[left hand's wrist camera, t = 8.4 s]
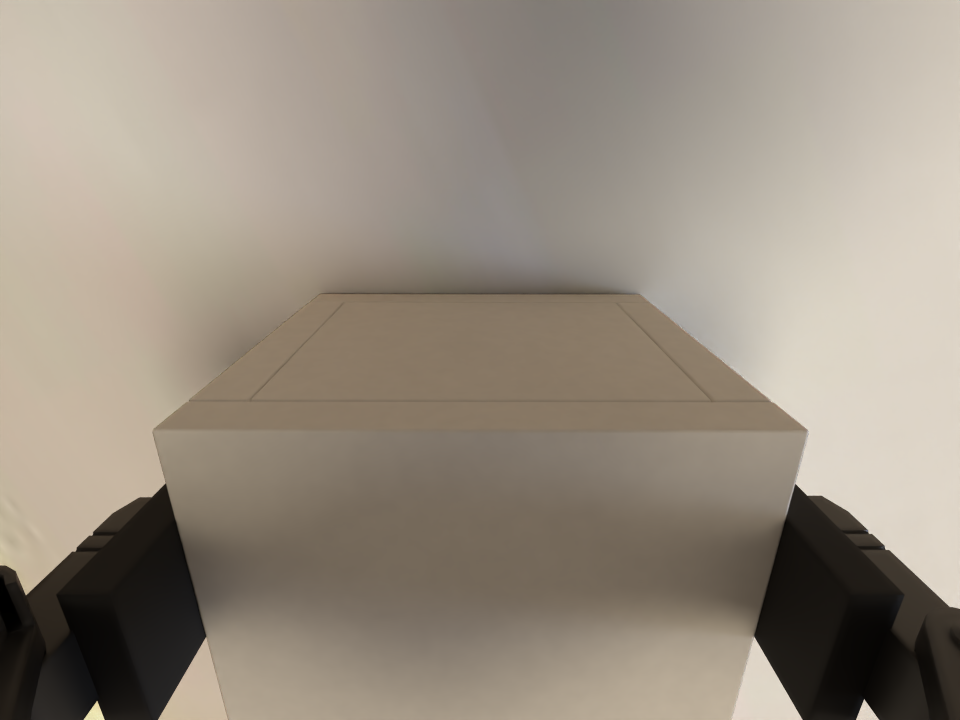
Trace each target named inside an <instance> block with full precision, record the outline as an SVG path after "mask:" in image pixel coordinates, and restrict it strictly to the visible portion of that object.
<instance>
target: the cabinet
mask: <svg viewBox="0 0 960 720" xmlns="http://www.w3.org/2000/svg"><path fill="white" fill-rule="evenodd" d="M808 434H809V433H808V430H807V429H806V428H805V427H803V426H802V425H801V424H800V423H798V422H797V421H796V420H795V419H794V418H792V417H791V416H790V415H789V414H787V413H786V412H785V411H784V410H782V409H781V408H780V407H779V406H778V405H776V404H775V403H773V402H771V401H770V399H768V398H767V397H766V396H765V395H763V394H762V393H761V392H760V391H758V390H757V389H756V388H755V387H754V386H752V385H751V384H750V383H749V382H747V381H746V380H745V379H744V378H742V377H741V376H740V375H739V374H738V373H736V372H735V371H734V370H733V369H731V368H730V367H729V366H728V365H726V364H725V363H724V362H723V361H722V360H720V359H719V358H718V357H717V356H715V355H714V354H713V353H712V352H710V351H709V350H708V349H707V348H706V347H704V346H703V345H702V344H701V343H699V342H698V341H697V340H696V339H694V338H693V337H692V336H691V335H690V334H688V333H687V332H686V331H685V330H683V329H682V328H681V327H680V326H678V325H677V324H676V323H675V322H674V321H672V320H671V319H670V318H669V317H667V316H666V315H665V314H664V313H662V312H661V311H660V310H659V309H657V308H656V307H655V306H654V305H653V304H651V303H650V302H649V301H648V300H646V299H645V298H644V297H643V296H641V295H639V294H320V295H318V296H317V297H316V298H314V299H313V300H312V301H311V302H309V303H308V304H306V305H305V306H304V307H303V308H302V309H300V310H299V311H298V312H297V313H295V314H294V315H293V316H292V317H290V318H289V319H288V320H287V321H286V322H284V323H283V324H282V325H281V326H279V327H278V328H277V329H276V330H274V331H273V332H272V333H271V334H270V335H268V336H267V337H266V338H265V339H263V340H262V341H261V342H260V343H258V344H257V345H256V346H255V347H254V348H252V349H251V350H250V351H249V352H247V353H246V354H245V355H244V356H242V357H241V358H240V359H239V360H238V361H236V362H235V363H234V364H233V365H231V366H230V367H229V368H228V369H226V370H225V371H224V372H223V373H222V374H220V375H219V376H218V377H217V378H215V379H214V380H213V381H212V382H210V383H209V384H208V385H207V386H206V387H204V388H203V389H202V390H201V391H199V392H198V393H197V394H196V395H194V396H193V397H192V398H191V399H190V400H189V402H186V403H185V404H184V405H183V406H181V407H180V408H179V409H178V410H176V411H175V412H174V413H173V414H171V415H170V416H169V417H168V418H167V419H165V420H164V421H163V422H162V423H160V424H159V425H158V426H157V427H156V428H154V429H153V436H154V440H155V444H156V447H157V451H158V455H159V459H160V463H161V466H162V470H163V474H164V478H165V482H166V485H167V489H168V493H169V497H170V501H171V504H172V508H173V512H174V516H175V520H176V523H177V527H178V531H179V535H180V539H181V542H182V546H183V550H184V554H185V558H186V561H187V565H188V569H189V573H190V577H191V580H192V584H193V588H194V592H195V596H196V599H197V603H198V607H199V611H200V615H201V618H202V622H203V626H204V630H205V634H206V637H207V641H208V645H209V649H210V653H211V656H212V660H213V664H214V668H215V672H216V675H217V679H218V683H219V687H220V691H221V694H222V698H223V702H224V706H225V710H226V713H227V717H228V720H732V716H733V713H734V709H735V705H736V702H737V698H738V694H739V690H740V687H741V683H742V679H743V676H744V672H745V668H746V664H747V661H748V657H749V653H750V650H751V646H752V642H753V638H754V635H755V631H756V627H757V624H758V620H759V616H760V612H761V609H762V605H763V601H764V598H765V594H766V590H767V586H768V583H769V579H770V575H771V571H772V568H773V564H774V560H775V557H776V553H777V549H778V545H779V542H780V538H781V534H782V531H783V527H784V523H785V519H786V516H787V512H788V508H789V505H790V501H791V497H792V493H793V490H794V486H795V482H796V479H797V475H798V471H799V467H800V464H801V460H802V456H803V453H804V449H805V445H806V441H807V438H808Z"/></svg>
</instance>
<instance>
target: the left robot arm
mask: <svg viewBox="0 0 960 720" xmlns="http://www.w3.org/2000/svg"><path fill="white" fill-rule="evenodd" d="M754 637H755V639H756V640H757V642H758V644H759V645H760V647H761V649H762V651H763V652H764V654H765V656H766V657H767V659H768V661H769V663H770V664H771V666H772V668H773V669H774V671H775V673H776V675H777V676H778V678H779V680H780V682H781V683H782V685H783V687H784V688H785V690H786V692H787V694H788V695H789V697H790V699H791V700H792V702H793V704H794V706H795V707H796V709H797V711H798V712H799V714H800V716H801V718H802V719H803V720H856V718H857V716H858V713H859V711H860V708H861V705H862V703H863V700H864V699H865V701H866V702H867V703H868V705H869V706H870V708H871V709H872V710H873V712H874V713H875V715H876V716H877V717H878V719H879V720H960V609H958V608H953V607H949V606H948V605H947V604H946V603H945V602H944V601H943V600H942V599H941V598H939V597H938V596H937V595H936V594H935V593H934V592H933V591H932V590H931V589H930V588H929V587H928V586H927V585H926V584H925V583H924V582H922V581H921V580H920V579H919V578H918V577H917V576H916V575H915V574H914V573H913V572H912V571H911V570H910V569H909V568H908V567H906V566H905V565H904V564H903V563H902V562H901V561H900V560H899V559H898V558H897V557H896V556H895V555H894V554H893V553H892V552H891V551H889V550H885V546H884V545H883V544H882V543H881V542H880V541H879V540H878V539H877V538H876V537H875V536H874V535H872V534H869V533H868V530H867V529H866V528H865V527H864V526H863V525H862V524H861V523H860V522H859V521H858V520H857V519H855V518H854V517H853V516H852V515H851V514H850V513H849V512H848V511H846V510H845V509H843V508H841V507H839V506H838V505H836V504H834V503H833V502H831V501H829V500H828V499H826V498H824V497H823V496H807V495H806V494H805V493H804V492H803V491H802V490H801V489H800V488H799V487H798V486H797V485H796V484H795V486H794V490H793V493H792V497H791V501H790V505H789V508H788V512H787V516H786V519H785V523H784V527H783V531H782V534H781V538H780V542H779V545H778V549H777V553H776V557H775V560H774V564H773V568H772V571H771V575H770V579H769V583H768V586H767V590H766V594H765V598H764V601H763V605H762V609H761V612H760V616H759V620H758V624H757V627H756V631H755V635H754ZM205 638H206V634H205V630H204V626H203V622H202V618H201V615H200V611H199V607H198V603H197V599H196V596H195V592H194V588H193V584H192V580H191V577H190V573H189V569H188V565H187V561H186V558H185V554H184V550H183V546H182V542H181V539H180V535H179V531H178V527H177V523H176V520H175V516H174V512H173V508H172V504H171V501H170V497H169V493H168V489H167V485H166V484H165V485H164V486H163V487H162V488H161V489H160V490H159V491H158V492H157V493H156V494H155V495H154V496H153V497H140V498H138V499H136V500H134V501H133V502H131V503H129V504H128V505H126V506H124V507H123V508H121V509H119V510H118V511H116V512H114V513H113V514H112V515H111V516H110V517H109V518H107V519H106V520H105V521H104V522H103V523H102V524H101V525H100V526H99V527H98V528H97V529H96V530H95V531H94V532H93V535H92V536H88V537H87V538H86V539H85V540H84V541H83V542H82V543H81V544H80V545H79V546H78V547H77V550H76V552H72V553H71V554H69V555H68V556H67V557H66V558H65V559H64V560H63V561H62V562H61V563H60V564H59V565H58V566H57V567H56V568H55V569H54V570H53V571H52V572H50V573H49V574H48V575H47V576H46V577H45V578H44V579H43V580H42V581H41V582H40V583H39V584H38V585H37V586H36V587H35V588H34V589H33V590H31V591H30V592H29V593H28V594H27V595H25V593H24V590H23V588H22V585H21V583H20V581H19V578H18V576H17V574H16V571H14V570H12V569H11V568H9V567H7V566H0V720H84V718H85V717H86V715H87V714H88V713H89V711H90V710H91V708H92V707H93V706H94V704H95V703H96V701H98V704H99V706H100V709H101V711H102V714H103V716H104V719H105V720H158V719H159V717H160V715H161V713H162V712H163V710H164V708H165V707H166V705H167V703H168V701H169V700H170V698H171V696H172V694H173V693H174V691H175V689H176V688H177V686H178V684H179V682H180V681H181V679H182V677H183V676H184V674H185V672H186V670H187V669H188V667H189V665H190V664H191V662H192V660H193V658H194V657H195V655H196V653H197V651H198V650H199V648H200V646H201V645H202V643H203V641H204V639H205Z"/></svg>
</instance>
